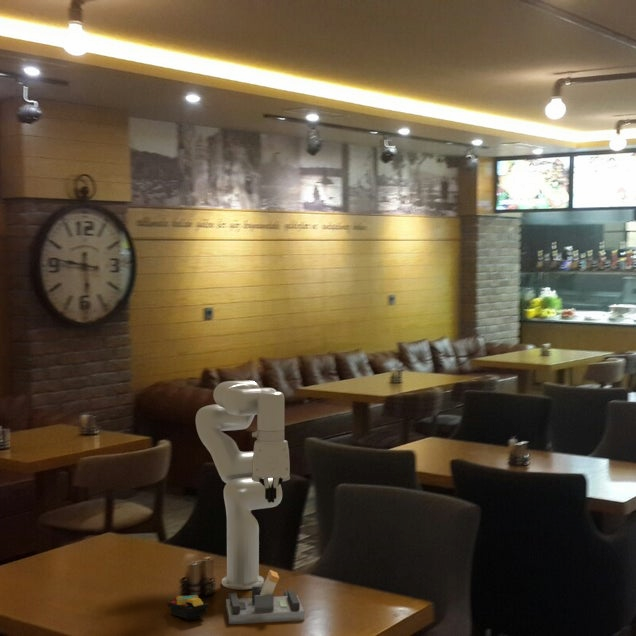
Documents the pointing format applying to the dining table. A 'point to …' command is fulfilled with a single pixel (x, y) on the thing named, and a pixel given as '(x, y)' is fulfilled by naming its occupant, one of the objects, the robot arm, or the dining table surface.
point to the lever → (270, 583)
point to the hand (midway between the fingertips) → (270, 501)
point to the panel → (263, 609)
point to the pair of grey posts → (288, 593)
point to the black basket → (188, 607)
